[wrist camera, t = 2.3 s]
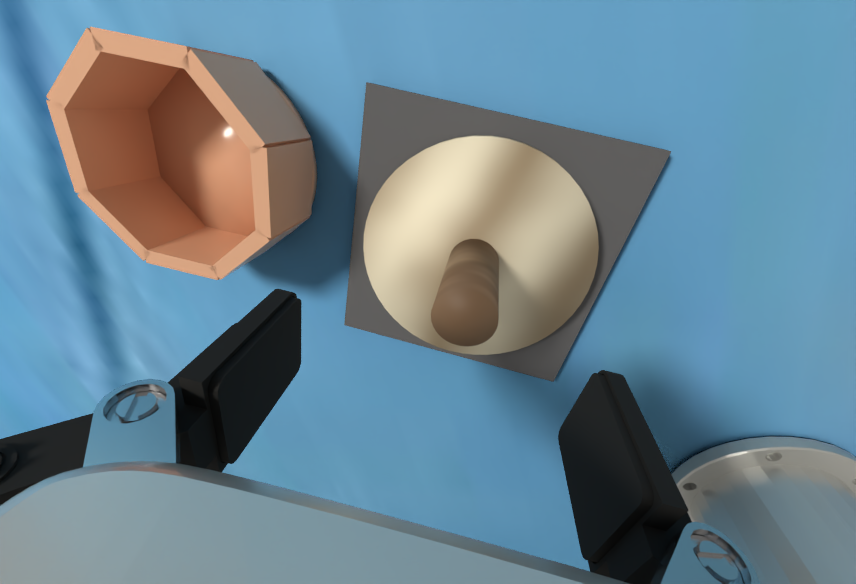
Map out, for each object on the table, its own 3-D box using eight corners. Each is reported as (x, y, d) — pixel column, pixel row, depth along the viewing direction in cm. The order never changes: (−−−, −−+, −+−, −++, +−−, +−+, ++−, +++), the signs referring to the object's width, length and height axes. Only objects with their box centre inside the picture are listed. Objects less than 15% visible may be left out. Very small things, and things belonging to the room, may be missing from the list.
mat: (666, 150, 17) (671, 151, 16) (552, 375, 24) (553, 381, 24) (370, 83, 18) (366, 82, 17) (347, 320, 25) (344, 324, 25)
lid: (639, 167, 17) (718, 202, 11) (544, 366, 23) (560, 459, 17) (382, 109, 18) (321, 111, 12) (359, 317, 24) (312, 388, 18)
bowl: (320, 74, 18) (262, 61, 14) (316, 257, 23) (273, 293, 19) (133, 35, 19) (18, 12, 14) (169, 223, 24) (93, 249, 19)
